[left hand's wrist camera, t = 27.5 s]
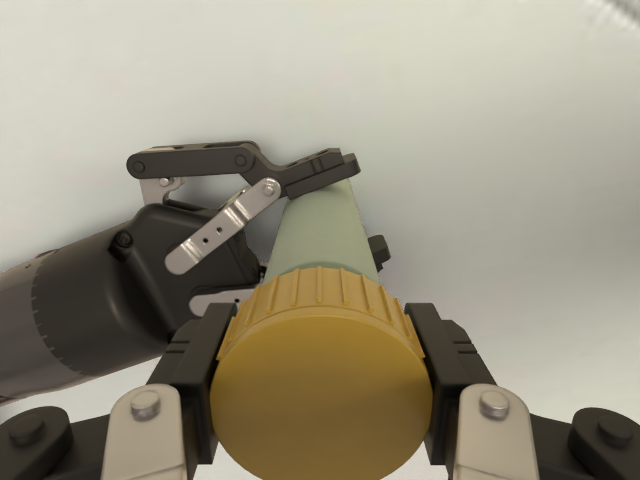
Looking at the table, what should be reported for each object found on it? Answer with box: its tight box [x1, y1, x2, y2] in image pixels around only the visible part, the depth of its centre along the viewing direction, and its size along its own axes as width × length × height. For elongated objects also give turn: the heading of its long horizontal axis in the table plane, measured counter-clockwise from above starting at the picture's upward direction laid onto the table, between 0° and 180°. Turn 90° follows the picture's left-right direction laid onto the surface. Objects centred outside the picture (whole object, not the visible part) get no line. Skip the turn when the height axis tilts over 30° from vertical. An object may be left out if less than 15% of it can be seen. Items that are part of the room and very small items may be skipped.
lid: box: [209, 266, 433, 480], centre depth 10 cm, size 5×5×2 cm
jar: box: [262, 178, 381, 286], centre depth 19 cm, size 4×4×18 cm
